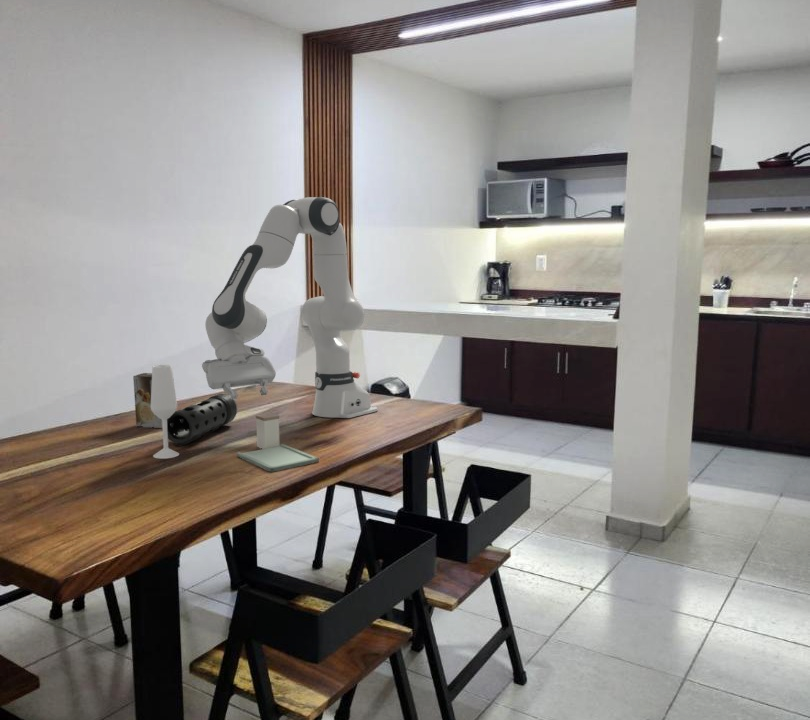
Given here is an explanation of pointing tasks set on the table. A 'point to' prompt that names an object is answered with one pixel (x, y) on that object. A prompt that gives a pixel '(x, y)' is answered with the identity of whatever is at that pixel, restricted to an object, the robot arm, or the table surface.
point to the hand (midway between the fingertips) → (250, 395)
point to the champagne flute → (163, 403)
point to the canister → (267, 430)
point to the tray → (278, 458)
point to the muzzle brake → (201, 418)
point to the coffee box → (144, 402)
